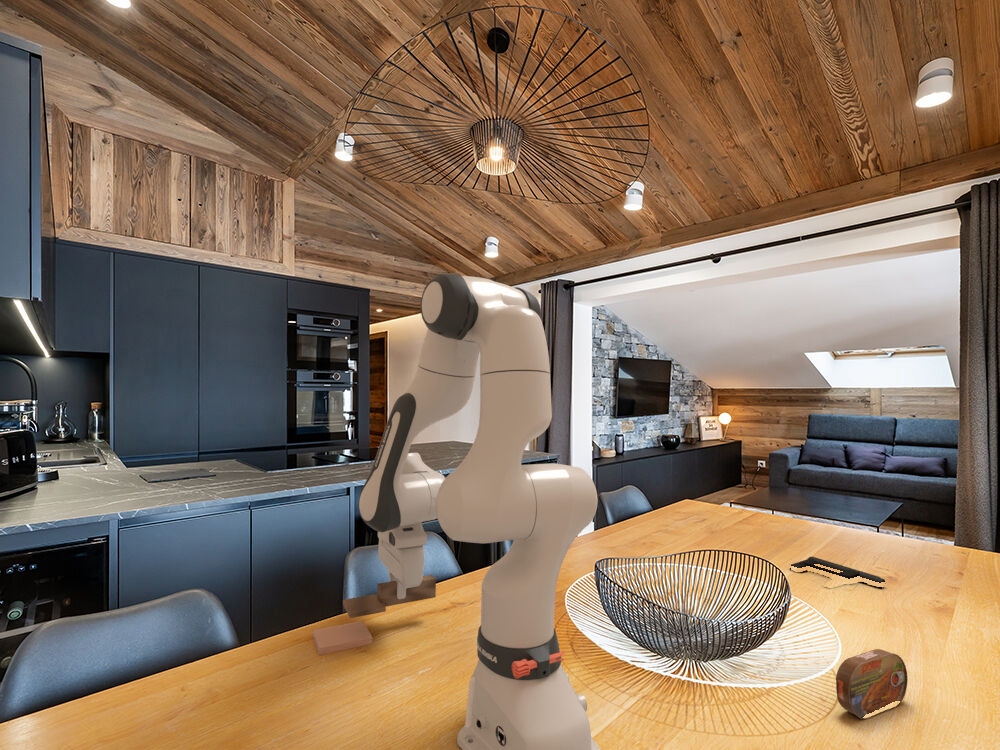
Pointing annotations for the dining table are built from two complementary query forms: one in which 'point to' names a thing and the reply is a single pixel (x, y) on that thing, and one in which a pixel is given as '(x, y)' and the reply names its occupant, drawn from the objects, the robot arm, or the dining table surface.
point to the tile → (341, 637)
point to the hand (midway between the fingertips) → (397, 594)
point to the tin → (871, 681)
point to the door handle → (846, 570)
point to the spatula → (389, 597)
